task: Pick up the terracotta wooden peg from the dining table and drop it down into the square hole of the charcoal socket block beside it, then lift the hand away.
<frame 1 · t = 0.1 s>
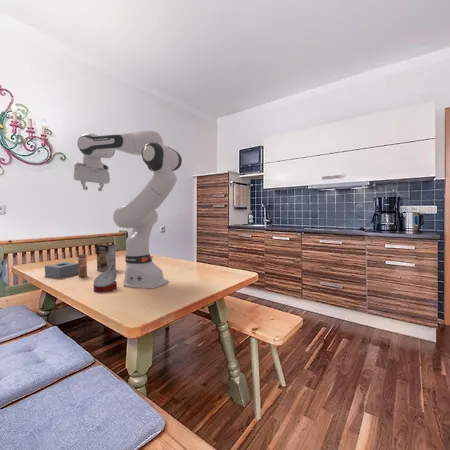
hand: (93, 190, 139), 48 cm above the table, fingers open, 8 cm apart
coffee box: (106, 270, 155), on the table
socket block: (62, 274, 144), on the table
canned food: (105, 290, 118), on the table
terracotta peg: (82, 276, 141), on the table
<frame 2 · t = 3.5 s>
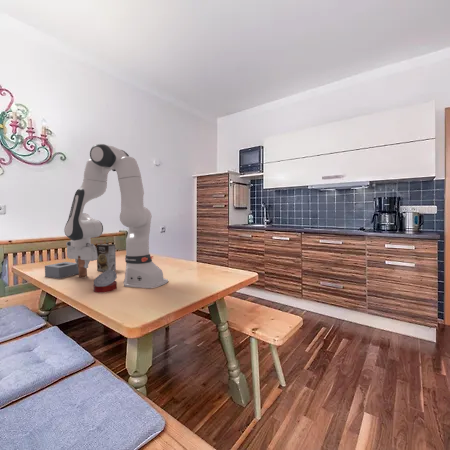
hand: (82, 267, 140), 5 cm above the table, fingers closed on terracotta peg, 4 cm apart
terracotta peg: (82, 276, 141), on the table, touching gripper
everything else where it was.
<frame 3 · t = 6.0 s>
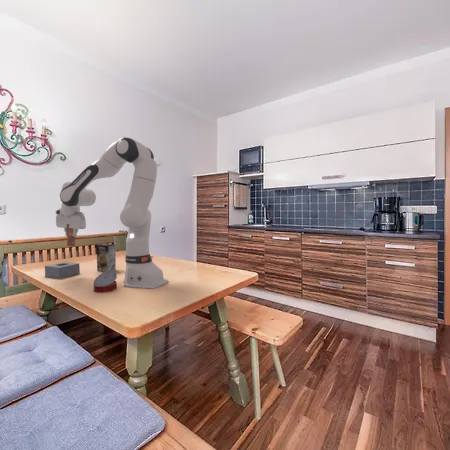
hand: (71, 236, 141), 22 cm above the table, fingers closed on terracotta peg, 4 cm apart
terracotta peg: (71, 245, 142), point 17 cm above the table, touching gripper
everything else where it was.
when the fingers open (8 cm above the table, at t = 8.7 s): terracotta peg drops 2 cm, resting in socket block.
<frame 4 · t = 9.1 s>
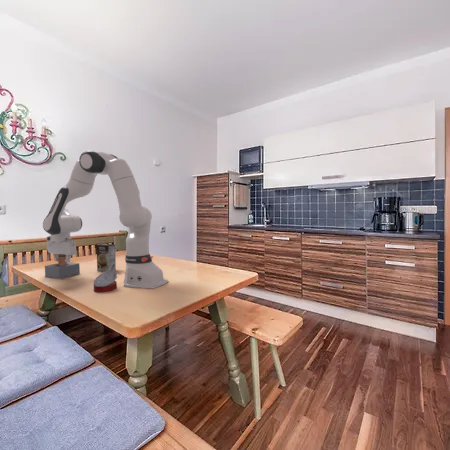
hand: (62, 261, 144), 8 cm above the table, fingers open, 8 cm apart
terracotta peg: (62, 274, 144), resting in socket block
everything else where it was.
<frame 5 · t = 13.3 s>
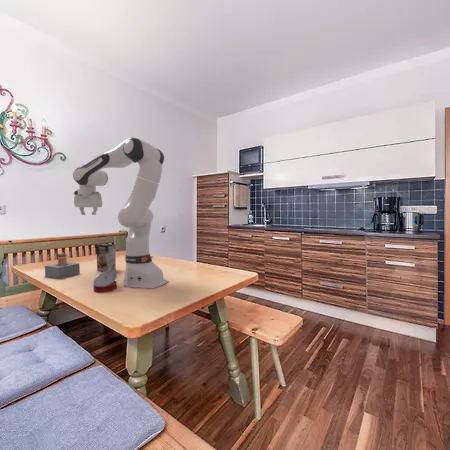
hand: (88, 214, 153), 34 cm above the table, fingers open, 8 cm apart
nothing on the table moved.
at the end: terracotta peg 0.1 cm off-centre on the socket block, point 0.0 cm above the socket block's base; terracotta peg tilted 0°; the gripper is holding nothing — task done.
